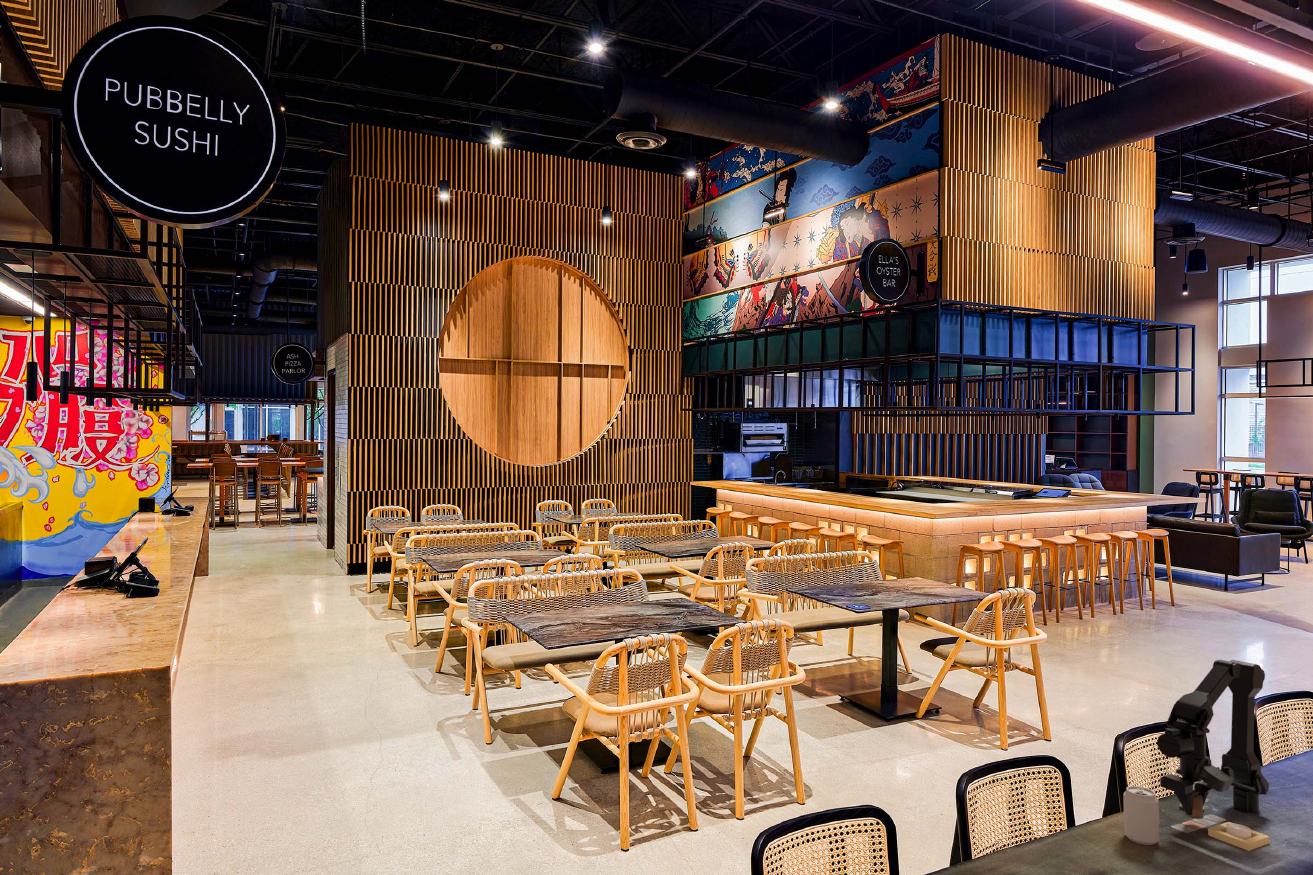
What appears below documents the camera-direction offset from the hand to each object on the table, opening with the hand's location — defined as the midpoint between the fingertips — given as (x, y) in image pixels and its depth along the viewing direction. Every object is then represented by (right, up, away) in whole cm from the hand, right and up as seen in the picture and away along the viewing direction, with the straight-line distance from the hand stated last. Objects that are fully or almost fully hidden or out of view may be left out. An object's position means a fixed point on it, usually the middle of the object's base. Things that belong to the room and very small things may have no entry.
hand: (1193, 813), depth 204 cm
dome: (+6, -3, -8) cm, 10 cm away
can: (-17, -4, -7) cm, 19 cm away
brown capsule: (0, -1, 0) cm, 1 cm away
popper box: (+6, -4, -8) cm, 10 cm away
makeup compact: (+2, -4, +1) cm, 4 cm away
